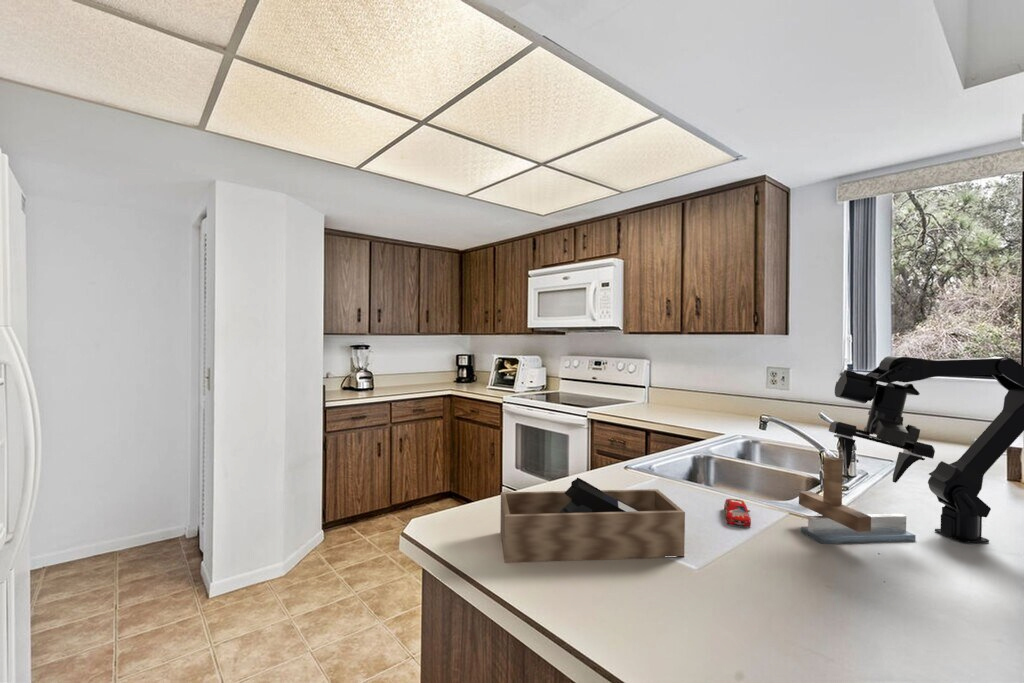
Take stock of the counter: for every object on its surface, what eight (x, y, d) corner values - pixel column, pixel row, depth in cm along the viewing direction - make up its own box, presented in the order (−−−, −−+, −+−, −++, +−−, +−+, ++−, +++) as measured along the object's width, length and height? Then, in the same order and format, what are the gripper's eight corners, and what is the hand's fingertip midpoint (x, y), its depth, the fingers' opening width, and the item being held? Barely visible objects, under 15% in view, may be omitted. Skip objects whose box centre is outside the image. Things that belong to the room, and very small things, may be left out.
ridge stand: (891, 529, 109) (891, 509, 109) (915, 540, 103) (915, 520, 103) (800, 531, 107) (801, 512, 107) (820, 543, 101) (820, 522, 101)
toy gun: (631, 585, 103) (661, 521, 104) (542, 544, 96) (576, 477, 98) (623, 577, 106) (652, 516, 108) (537, 537, 99) (569, 472, 101)
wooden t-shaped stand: (798, 504, 112) (799, 449, 112) (810, 503, 113) (811, 449, 113) (858, 532, 97) (859, 468, 96) (870, 531, 97) (872, 468, 97)
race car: (752, 531, 108) (752, 514, 108) (726, 528, 110) (726, 511, 110) (747, 511, 120) (747, 495, 120) (723, 508, 122) (723, 493, 122)
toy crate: (657, 528, 109) (657, 489, 108) (684, 556, 95) (684, 512, 95) (500, 532, 106) (500, 492, 105) (504, 562, 92) (505, 516, 92)
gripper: (850, 398, 105) (833, 466, 104) (955, 423, 98) (937, 496, 98) (836, 398, 115) (820, 460, 115) (930, 420, 108) (913, 487, 108)
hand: (870, 475), depth 108 cm, fingers open, 9 cm apart
